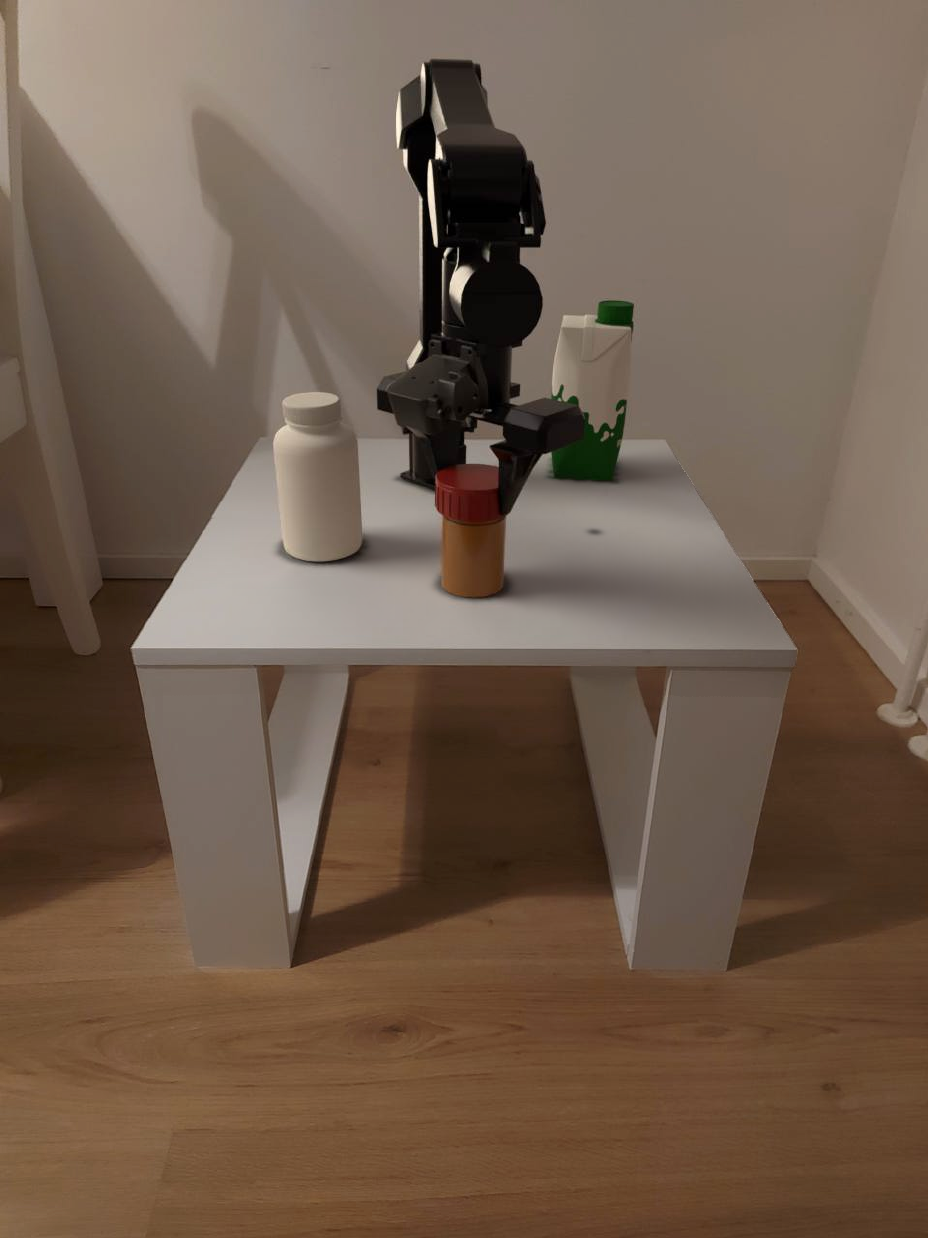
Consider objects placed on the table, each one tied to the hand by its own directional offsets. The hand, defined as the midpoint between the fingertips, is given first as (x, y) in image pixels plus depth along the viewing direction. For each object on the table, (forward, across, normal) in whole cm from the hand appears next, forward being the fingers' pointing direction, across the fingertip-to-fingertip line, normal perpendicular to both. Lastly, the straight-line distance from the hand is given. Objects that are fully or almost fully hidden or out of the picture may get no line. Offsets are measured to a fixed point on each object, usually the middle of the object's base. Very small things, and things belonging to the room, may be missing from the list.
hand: (473, 503), depth 77 cm
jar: (+8, 0, 0) cm, 8 cm away
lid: (0, 0, 0) cm, 0 cm away
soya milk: (+8, -10, +33) cm, 36 cm away
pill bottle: (+8, -16, -4) cm, 19 cm away
